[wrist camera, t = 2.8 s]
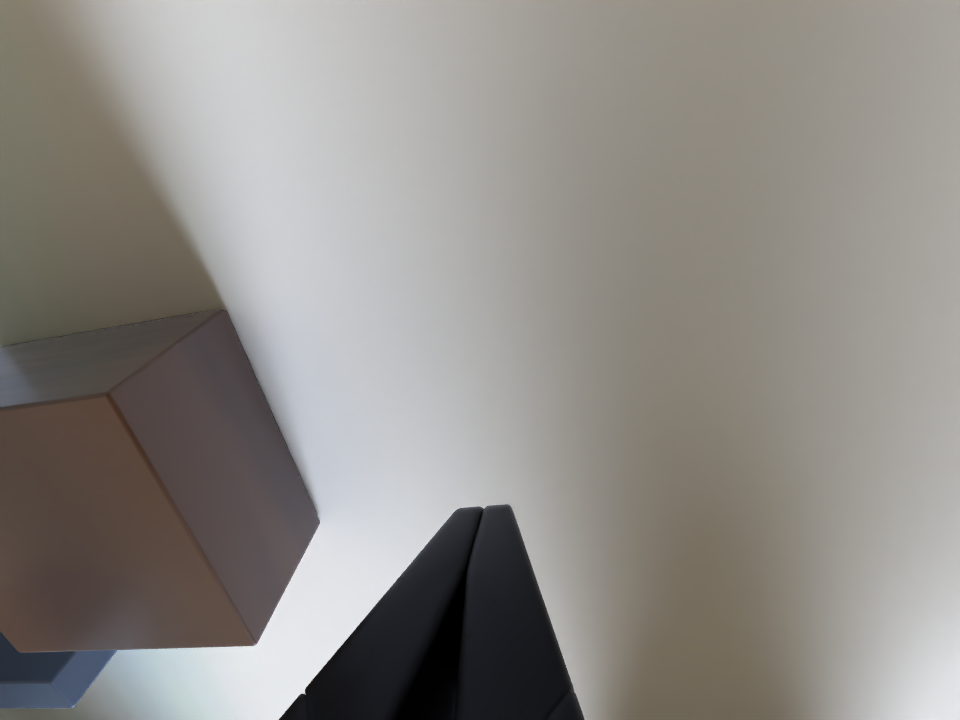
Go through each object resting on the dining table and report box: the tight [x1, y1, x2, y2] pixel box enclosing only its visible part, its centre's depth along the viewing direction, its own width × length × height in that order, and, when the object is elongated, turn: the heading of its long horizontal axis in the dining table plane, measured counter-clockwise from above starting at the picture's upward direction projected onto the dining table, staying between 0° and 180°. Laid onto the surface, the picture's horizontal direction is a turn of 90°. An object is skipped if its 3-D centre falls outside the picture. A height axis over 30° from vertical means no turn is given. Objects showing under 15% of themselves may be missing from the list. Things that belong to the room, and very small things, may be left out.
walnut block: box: [0, 309, 320, 653], centre depth 12 cm, size 6×6×4 cm
